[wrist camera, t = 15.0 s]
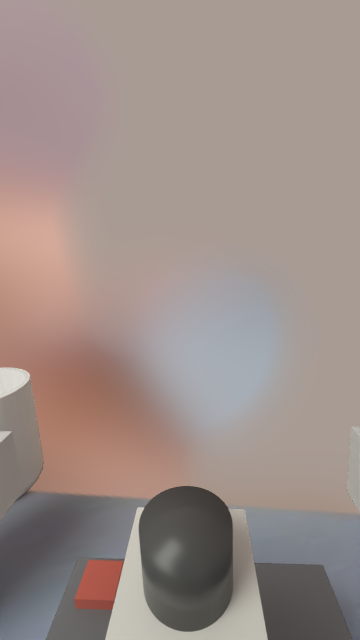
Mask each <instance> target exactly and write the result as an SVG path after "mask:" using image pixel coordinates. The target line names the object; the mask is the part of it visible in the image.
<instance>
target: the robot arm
mask: <svg viewBox="0 0 360 640" xmlns="http://www.w3.org/2000/svg"><path fill="white" fill-rule="evenodd" d="M22 491H23V485H22V480H21V475H20V470H19V464H18V459H17V454H16V449H15V443H14V438H13V433H12V431H0V521H1V520H2V518H3V517H4V516H5V514H6V513H7V512H8V510H9V509H10V508H11V506H12V505H13V504H14V502H15V501H16V499H17V498H18V497H19V495H20V494H21V493H22ZM347 492H348V494H349V495H350V497H351V499H352V500H353V502H354V503H355V505H356V507H357V508H358V510H359V511H360V427H351V437H350V450H349V465H348V479H347Z"/></svg>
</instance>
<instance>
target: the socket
mask: <svg viewBox="0 0 360 640" xmlns="http://www.w3.org/2000/svg"><path fill="white" fill-rule="evenodd" d="M124 560H125V559H104V558H78V560H77V562H76V565H75V567H74V570H73V572H72V575H71V577H70V580H69V582H68V585H67V587H66V590H65V592H64V595H63V597H62V600H61V602H60V605H59V607H58V610H57V613H56V615H55V618H54V620H53V623H52V625H51V628H50V630H49V633H48V635H47V638H46V640H105V638H106V634H107V630H108V626H109V622H110V618H111V614H112V609H113V605H114V601H115V597H116V593H117V589H118V585H119V581H120V577H121V573H122V568H123V564H124ZM254 565H255V570H256V576H257V582H258V587H259V593H260V599H261V604H262V610H263V616H264V621H265V627H266V633H267V638H268V640H352V638H351V636H350V633H349V631H348V628H347V625H346V623H345V620H344V618H343V615H342V613H341V610H340V608H339V605H338V603H337V600H336V598H335V595H334V592H333V590H332V587H331V585H330V582H329V580H328V577H327V575H326V572H325V570H324V567H323V565H305V564H272V563H254Z"/></svg>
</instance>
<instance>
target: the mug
mask: <svg viewBox="0 0 360 640" xmlns="http://www.w3.org/2000/svg"><path fill="white" fill-rule="evenodd" d="M0 431H12V433H13V438H14V443H15V449H16V454H17V459H18V464H19V470H20V475H21V480H22V485H23V491H22V493H21V494H20V495H19V497H21V496H22V495H23V494H24V493H25V492H27V491H28V490H29V489H30V488H31V487H32V485H33V484H34V483H35V481H37V479H38V477H39V475H40V473H41V471H42V469H43V456H42V449H41V443H40V436H39V430H38V424H37V417H36V410H35V404H34V397H33V391H32V384H31V377H30V374H29V373H28V372H27V371H25V370H23V369H17V368H0ZM19 497H18V498H19ZM18 498H17V499H18ZM17 499H16V500H17Z"/></svg>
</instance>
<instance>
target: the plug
mask: <svg viewBox="0 0 360 640" xmlns="http://www.w3.org/2000/svg"><path fill="white" fill-rule="evenodd" d="M105 640H268V638H267V633H266V627H265V621H264V616H263V610H262V604H261V599H260V593H259V587H258V582H257V576H256V570H255V565H254V559H253V553H252V548H251V542H250V536H249V531H248V525H247V519H246V513H245V509H228V507H227V506H226V505H225V503H224V502H223V501H222V500H221V499H220V498H219V497H217V496H216V495H215V494H213V493H212V492H210V491H208V490H205V489H202V488H198V487H193V486H192V487H191V486H182V487H175V488H171V489H168V490H165V491H163V492H161V493H160V494H158V495H156V496H155V497H154V498H153V499H152V500H151V501H149V503H148V504H147V505H146V506H145V508H142V507H137V511H136V515H135V519H134V523H133V528H132V532H131V536H130V540H129V544H128V548H127V552H126V556H125V560H124V564H123V568H122V573H121V577H120V581H119V585H118V589H117V593H116V597H115V601H114V605H113V609H112V614H111V618H110V622H109V626H108V630H107V634H106V638H105Z"/></svg>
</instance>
